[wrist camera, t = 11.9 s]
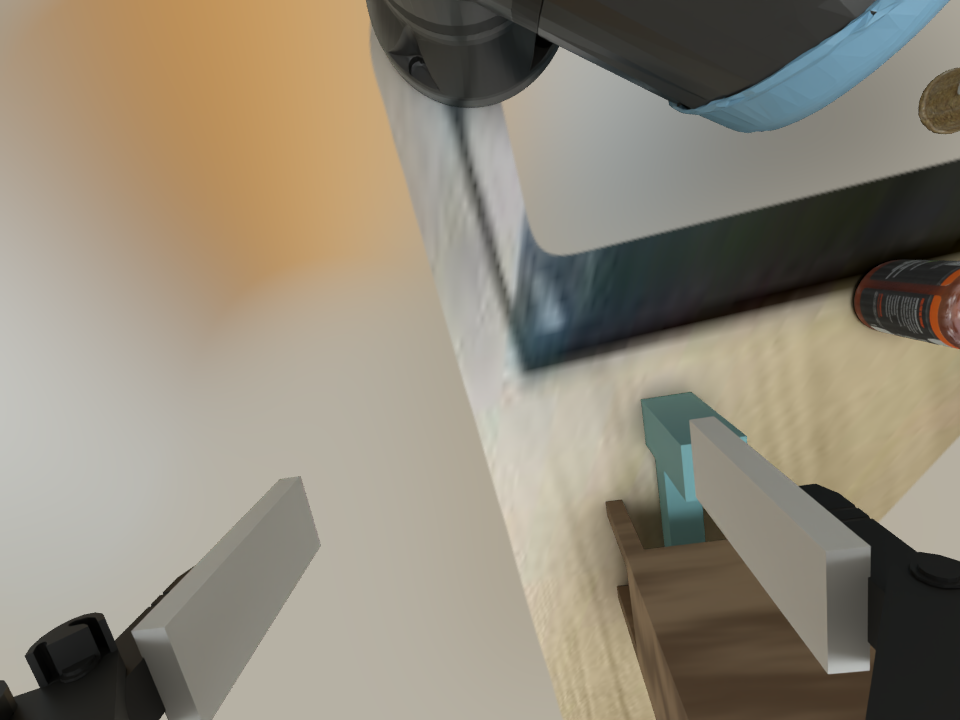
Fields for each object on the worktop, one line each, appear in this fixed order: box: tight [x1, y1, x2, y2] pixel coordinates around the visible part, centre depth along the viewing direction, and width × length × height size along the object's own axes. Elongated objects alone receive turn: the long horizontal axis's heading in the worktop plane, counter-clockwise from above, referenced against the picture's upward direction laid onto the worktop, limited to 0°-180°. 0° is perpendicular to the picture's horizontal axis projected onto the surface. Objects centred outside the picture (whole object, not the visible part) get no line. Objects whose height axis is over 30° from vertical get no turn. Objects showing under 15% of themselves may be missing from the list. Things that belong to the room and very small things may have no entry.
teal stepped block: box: [641, 392, 747, 547], centre depth 40 cm, size 23×6×10 cm, turn 10°
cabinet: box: [606, 500, 876, 720], centre depth 35 cm, size 13×13×22 cm
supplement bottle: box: [854, 260, 960, 349], centre depth 33 cm, size 6×6×11 cm
